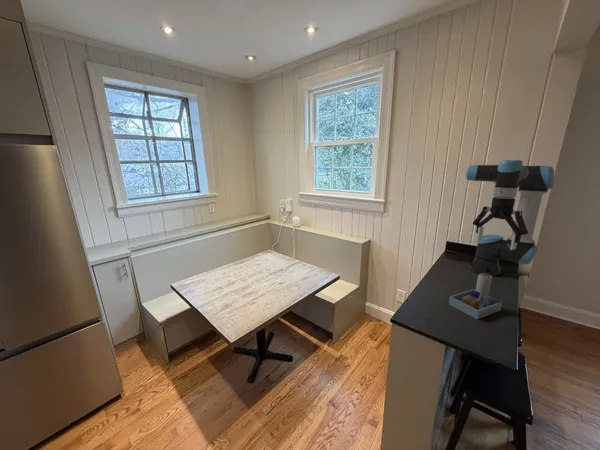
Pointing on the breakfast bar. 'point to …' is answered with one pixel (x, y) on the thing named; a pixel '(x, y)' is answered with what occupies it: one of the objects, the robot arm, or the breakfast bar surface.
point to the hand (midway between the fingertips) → (494, 244)
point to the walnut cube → (471, 301)
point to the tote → (483, 311)
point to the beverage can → (483, 288)
